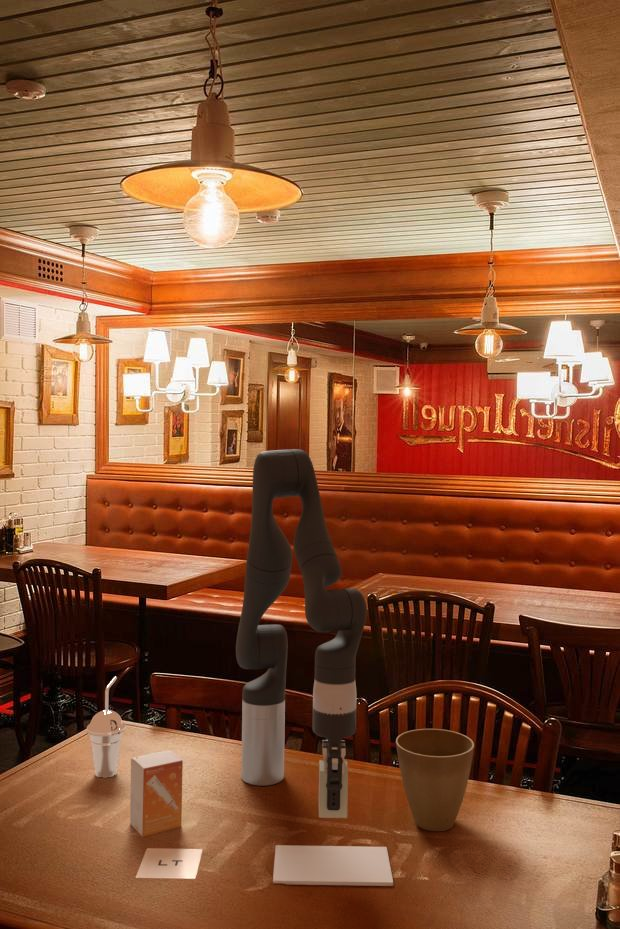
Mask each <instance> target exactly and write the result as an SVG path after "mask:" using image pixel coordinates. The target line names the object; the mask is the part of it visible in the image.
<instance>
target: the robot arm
mask: <svg viewBox="0 0 620 929" xmlns="http://www.w3.org/2000/svg"><path fill="white" fill-rule="evenodd" d="M252 469H253V471H252V492H251V493H252V494H251V495H252V497H251V498H252V499H251V500H252V501H251V504H252V505H251V522H250V523H251V524H250V531H249V532H250V533H249V540H248V546H247V552H246V553H247V554H246V555H247V556H246V563H245V564H246V565H245V576H244V591H243V599H242V600H243V601H242V607H241V608H242V609H241V611H240V612H241V613H240V619H239V624H238V627H237V628H238V629H237V630H238V631H237V634H236V643H235V657H236V658H235V659H236V661H237V664H238V666H239V667H240V668H241V669H244V670H262V669H267V670H266V672H265V673H264V674H262V675H261V676H258V677H257V678H255V679H253V680H251V681H248V682H247V683H246V684H244V685H243V688H242V696H241V697H242V700H241V701H242V704H241V705H242V708H241V710H242V712H241V713H242V714H241V717H242V720H241V721H242V722H241V770H240V771H241V780H242V781H243V782H245V783H247V784H249V785H253V786H272V785H275V784H278V783H280V782H282V781H283V780H284V776H285V732H286V731H285V728H286V726H285V724H286V721H285V720H286V717H285V716H286V713H285V712H286V687H287V686H286V685H287V684H286V682H287V679H286V678H287V663H288V649H289V644H288V633H287V631H286V628H285V627H284V625H282V624H260V622H261V619H262V617H263V616H264V614H265V613H266V612H267V611H268V609H269V608H270V607H271V606H272V605H273V604H274V603H275V602H276V601H277V600H278V598H279V597H280V596H281V595H282V594H283V592H284V591H285V590H286V588H287V586H288V584H289V582H290V578H291V572H292V566H293V558H294V557H293V551H294V556H295V559H296V562H297V564H298V567H299V571H300V572H301V575H302V580H303V591H304V616H305V619H306V621H307V623H308V625H309V626H310V627H311V628H312V629H313V630H314V631H315V632H319V633H328V632H337V633H336V634H335V637H334V638H333V639H331V640H328V641H327V642H323V643H322V644H320V645H318V646H317V647H316V649H315V653H314V683H313V689H312V722H311V723H312V724H311V726H312V732H313V733H314V734H315V735H316V736H318V737H321V738H325V739H322V740H321V741H322V742H321V744H322V745H321V746H322V747H321V749H322V750H321V751H322V756H323V759H322V760H323V762H324V773H325V774H327V783H326V787H327V809H328V810H339V809H340V790H341V789H342V774H343V773H344V761H345V757H346V754H347V753H346V741H345V740H343V739H345V738H350V737H352V736H353V735H354V734H356V731H357V696H358V695H357V685H356V665H357V664H356V661H357V660H356V659H357V653H358V649H359V646H360V642H361V638H362V635H363V631H364V628H365V625H366V621H367V616H368V607H367V601H366V599H365V597H364V595H363V594H362V592H361V591H359V590H358V589H356V588H351V587H349V588H334V589H326V588H328V587H330V586H333V585H334V584H335V583H337V582H338V581H339V580H340V578H341V577H342V572H343V571H342V566H341V562H340V560H339V558H338V556H337V552H336V549H335V547H334V545H333V542H332V539H331V536H330V534H329V531H328V528H327V524H326V519H325V514H324V508H323V504H322V499H321V498H322V497H321V494H320V489H319V484H318V479H317V476H316V471H315V469H314V465H313V462H312V460H311V458H310V455H309V454H308V453H307V452H306V451H305V450H304V449H297V448H293V449H276V450H274V449H271V450H264V451H260V452H259V453H258V454H257V455H256V457H255V460H254V464H253V468H252ZM292 497H298V498H299V500H300V501H301V504H302V508H301V509H302V510H301V514H300V517H299V520H298V524H297V527H296V529H295V532H294V537H293V549H292V546H291V544H290V542H289V540H288V538H287V537H286V535H285V533H284V532H283V530H282V529H281V528H280V526H279V524H278V523H277V521H276V519H275V516H274V513H273V503H274V500H275V499H279V498H292ZM331 778H338V781H330V779H331Z"/></svg>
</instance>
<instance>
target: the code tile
mask: <svg viewBox="0 0 620 929" xmlns="http://www.w3.org/2000/svg"><path fill="white" fill-rule="evenodd" d="M203 850H204V849H203V848H166V847H165V848H164V847H163V848H160V847H159V848H158V847H157V848H156V847H155V848H154V847H152V848H150V847H148V848H146V850H145V852H144V855H143V857H142V860H141V863H140V865H139V868H138V870H137V873H136V875H135V878H136V879H170V880H171V879H172V880H173V879H175V880H176V879H178V880H179V879H181V880H183V879H184V880H196V877H197V873H198V869H199V866H200V862H201V858H202V855H203V854H202V853H203Z"/></svg>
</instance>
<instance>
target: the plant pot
mask: <svg viewBox="0 0 620 929" xmlns="http://www.w3.org/2000/svg"><path fill="white" fill-rule="evenodd" d="M395 745H396V752H397V753H396V754H397V759H398V764H399V765H398V766H399V771H400V776H401V780H402V784H403V788H404V793H405V795H406V798H407V803H408V806H409V809H410V812H411V814H412V817H413V820H414V823H415V825H416V826H417V827H418V828H420V829H423V830H426V831H430V832H445V831H448V830H450V829H451V828H453V826H454V824H455V822H456V820H457V818H458V817H457V816H458V814H459V812H460V809H461V807H462V803H463V799H464V797H465V794H466V790H467V787H468V781H469V778H470V773H471V768H472V763H473V758H474V756H473V755H474V749H475V743H474V741H473V739H471V738H470V737H468V736H467V735H464V734H462V733H460V732H457V731H453V730H448V729H443V728H442V729H440V728H419V729H413V730H412V729H411V730H408V731H405V732H402V733H401V734H399V735H398V736H397V737H396V739H395Z"/></svg>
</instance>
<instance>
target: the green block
mask: <svg viewBox="0 0 620 929" xmlns="http://www.w3.org/2000/svg"><path fill="white" fill-rule="evenodd" d="M318 763H319V764H318V765H319V766H318V818H320V819H321V818H323V819H328V818H329V819H348V799H349V798H348V795H349V793H348V790H349V789H348V788H349V770H348V767H349V766H348V760H344V773H343V774H342V789H341V790H340V809H339V810H328V809H327V787H326V783H327V774H325V773H324V762H323V759H319V761H318ZM330 781H338V778H331V779H330Z"/></svg>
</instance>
